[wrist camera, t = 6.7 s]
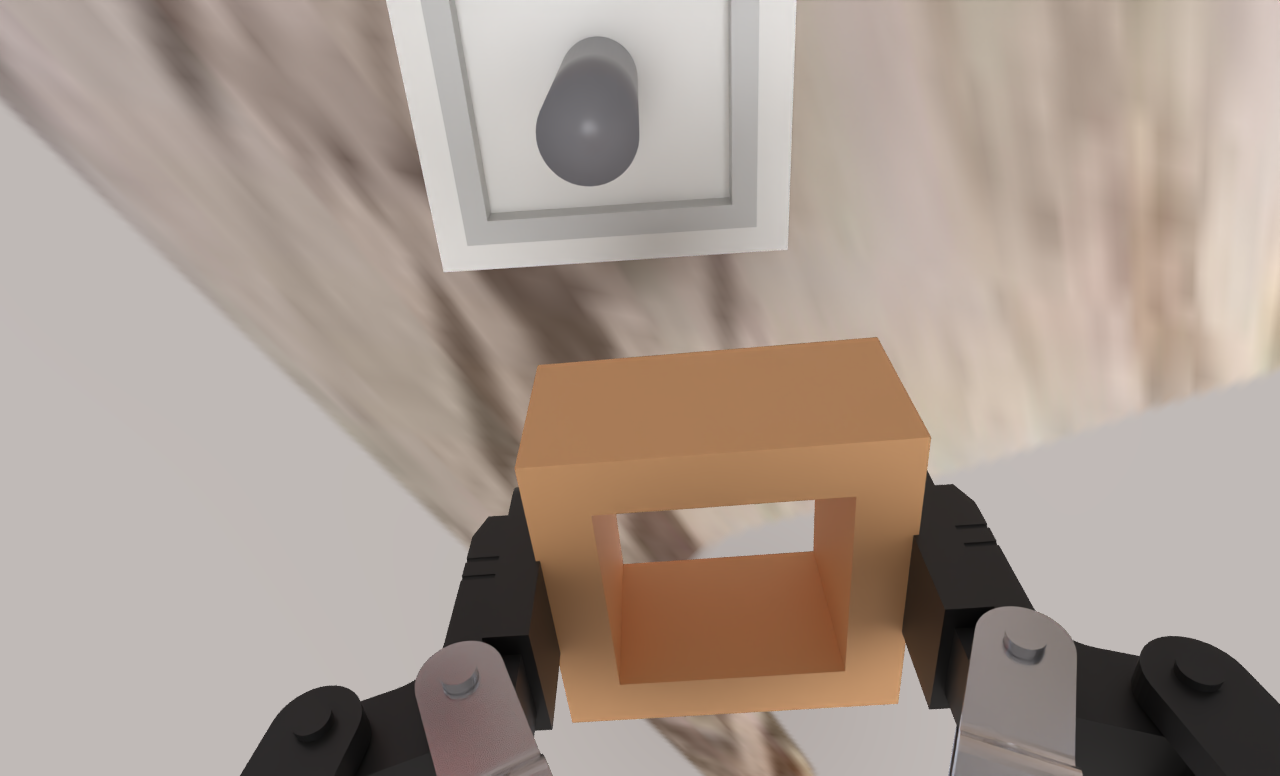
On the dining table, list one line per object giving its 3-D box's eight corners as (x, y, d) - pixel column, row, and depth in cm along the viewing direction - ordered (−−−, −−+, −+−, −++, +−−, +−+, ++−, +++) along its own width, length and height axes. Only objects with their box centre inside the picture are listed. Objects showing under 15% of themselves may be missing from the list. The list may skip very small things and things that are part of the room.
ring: (876, 337, 14) (931, 437, 11) (859, 582, 17) (897, 703, 14) (537, 365, 14) (514, 468, 11) (582, 600, 17) (572, 722, 15)
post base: (795, -173, 22) (871, -210, 15) (782, 239, 28) (832, 346, 21) (366, -139, 22) (247, -160, 15) (449, 261, 28) (391, 374, 21)
